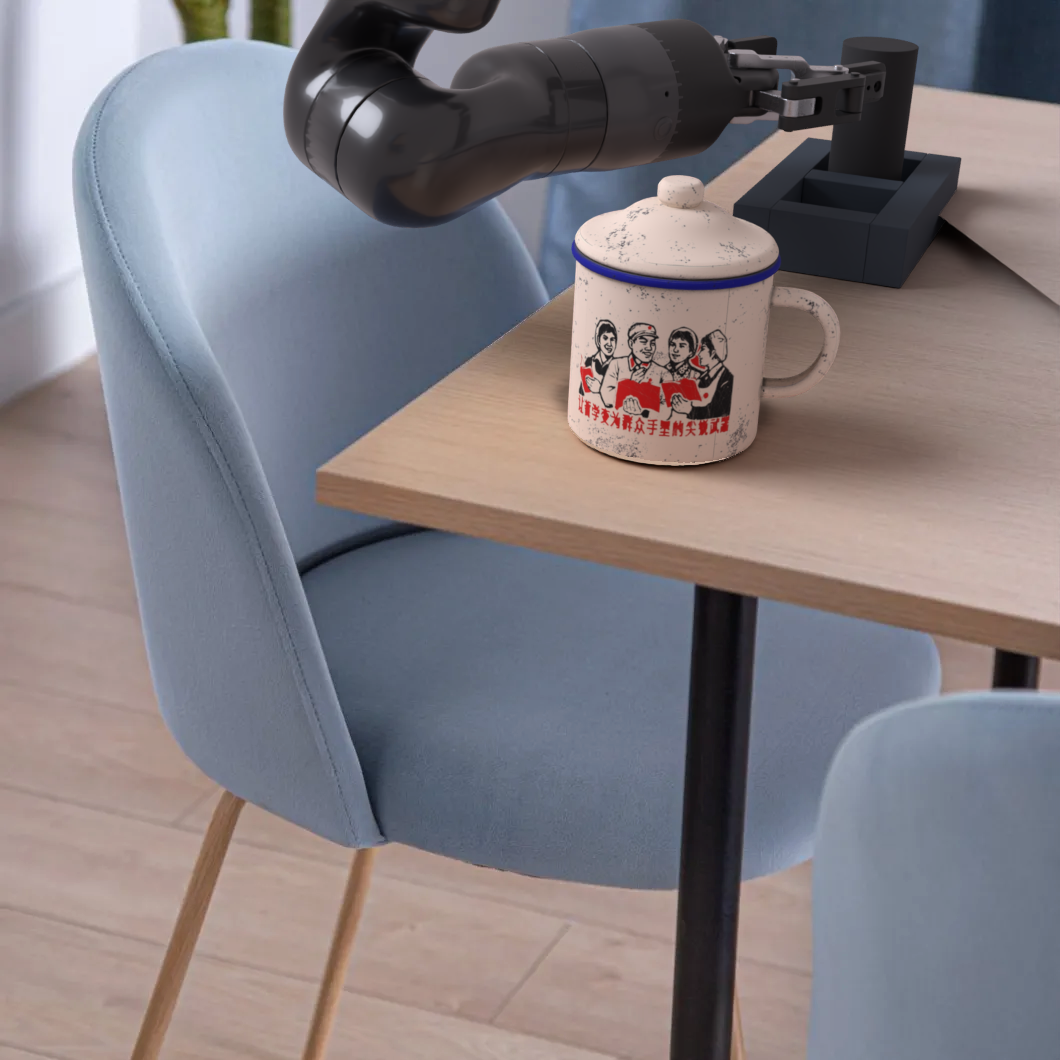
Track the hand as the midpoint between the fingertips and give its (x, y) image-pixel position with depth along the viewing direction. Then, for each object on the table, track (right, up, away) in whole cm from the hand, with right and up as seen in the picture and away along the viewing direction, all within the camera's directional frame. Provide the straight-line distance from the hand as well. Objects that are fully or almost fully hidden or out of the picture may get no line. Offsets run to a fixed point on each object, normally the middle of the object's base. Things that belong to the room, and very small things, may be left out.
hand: (824, 66), depth 106 cm
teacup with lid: (-10, -24, -25) cm, 36 cm away
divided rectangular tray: (+2, -9, +4) cm, 10 cm away
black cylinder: (+3, -8, +8) cm, 11 cm away
